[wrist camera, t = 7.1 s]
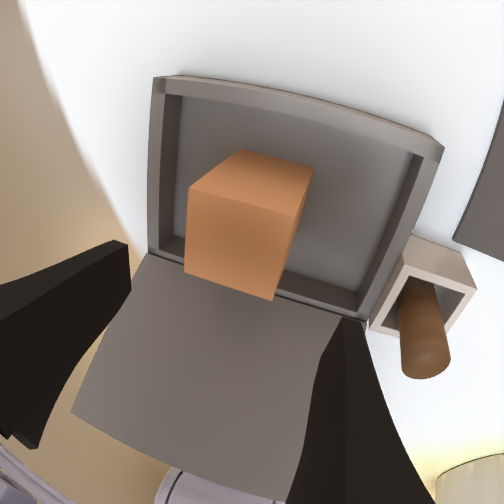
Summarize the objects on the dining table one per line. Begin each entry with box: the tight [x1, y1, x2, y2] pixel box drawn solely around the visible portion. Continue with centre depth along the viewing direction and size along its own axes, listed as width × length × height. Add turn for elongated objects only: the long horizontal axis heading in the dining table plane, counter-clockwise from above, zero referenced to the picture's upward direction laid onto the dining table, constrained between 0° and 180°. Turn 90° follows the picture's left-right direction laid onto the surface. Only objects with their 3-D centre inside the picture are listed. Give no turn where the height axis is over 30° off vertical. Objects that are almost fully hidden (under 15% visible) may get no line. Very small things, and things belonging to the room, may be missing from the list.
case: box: [71, 75, 477, 502], centre depth 13 cm, size 16×19×13 cm
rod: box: [396, 275, 451, 379], centre depth 15 cm, size 2×2×7 cm
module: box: [184, 149, 314, 301], centre depth 15 cm, size 4×4×6 cm
